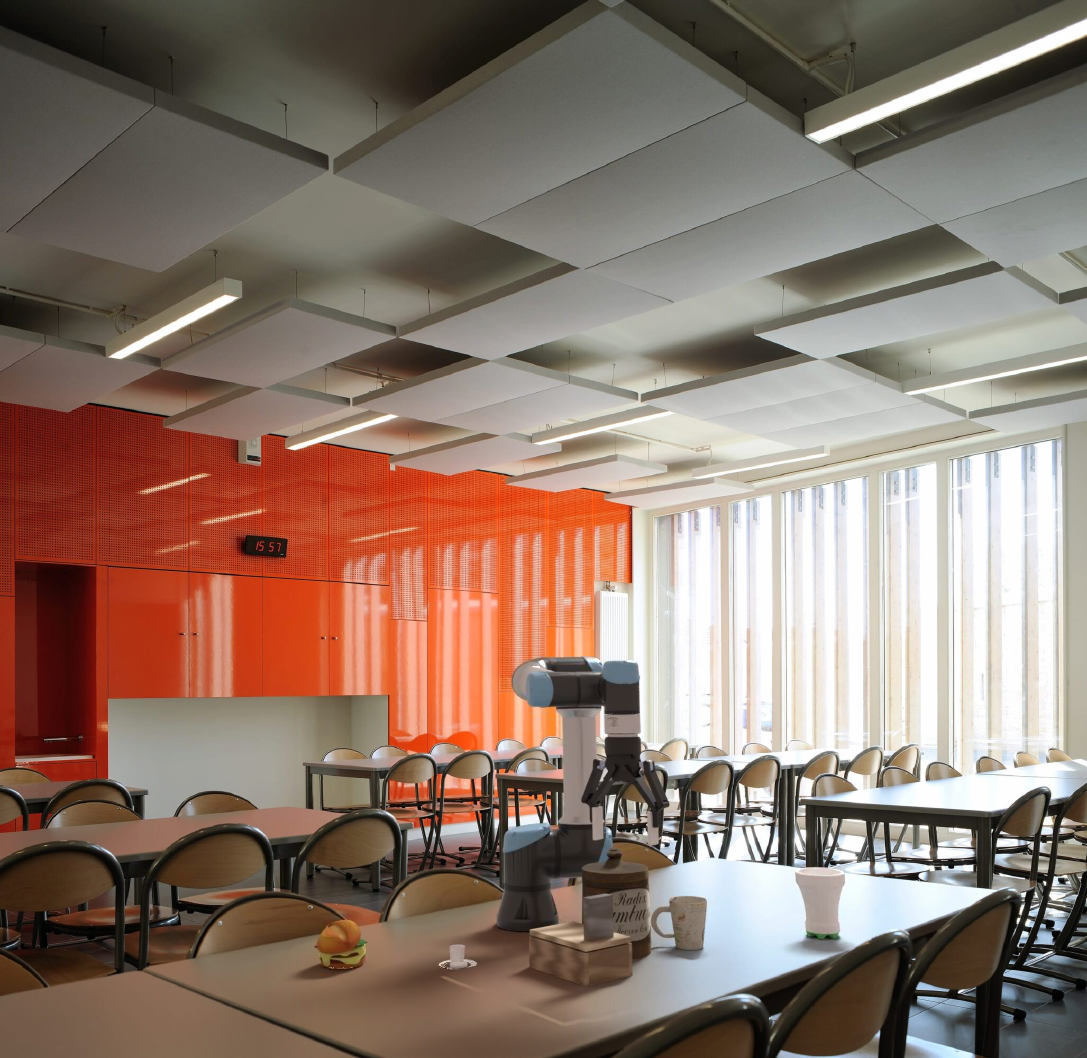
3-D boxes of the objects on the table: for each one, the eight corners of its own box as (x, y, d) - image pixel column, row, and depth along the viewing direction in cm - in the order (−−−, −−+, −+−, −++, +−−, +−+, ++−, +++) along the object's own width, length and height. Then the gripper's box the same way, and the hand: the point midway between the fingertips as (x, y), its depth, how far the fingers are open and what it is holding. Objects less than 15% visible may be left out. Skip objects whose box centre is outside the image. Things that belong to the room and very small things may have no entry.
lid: (529, 934, 208) (529, 888, 210) (573, 926, 215) (573, 882, 217) (586, 951, 194) (585, 902, 196) (631, 942, 201) (629, 894, 203)
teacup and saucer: (465, 974, 206) (465, 953, 207) (430, 971, 209) (430, 950, 209) (482, 963, 214) (482, 943, 215) (448, 960, 217) (448, 940, 218)
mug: (707, 952, 220) (706, 904, 221) (649, 950, 222) (648, 902, 224) (709, 943, 228) (707, 896, 229) (653, 941, 230) (652, 894, 232)
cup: (794, 939, 230) (791, 874, 232) (801, 928, 240) (798, 866, 242) (845, 943, 226) (842, 876, 228) (850, 932, 236) (847, 868, 238)
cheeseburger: (377, 959, 217) (373, 914, 216) (352, 985, 207) (348, 938, 206) (335, 955, 220) (331, 910, 219) (309, 980, 210) (305, 934, 209)
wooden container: (605, 966, 209) (602, 855, 213) (570, 951, 222) (568, 846, 225) (665, 957, 216) (661, 850, 219) (627, 942, 229) (625, 841, 232)
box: (529, 969, 207) (529, 936, 208) (575, 960, 214) (574, 927, 216) (585, 989, 193) (585, 953, 194) (632, 978, 200) (631, 943, 201)
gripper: (563, 735, 215) (565, 839, 212) (664, 737, 200) (667, 849, 196) (584, 734, 221) (586, 835, 218) (684, 735, 206) (687, 844, 202)
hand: (625, 842), depth 207 cm, fingers open, 13 cm apart
